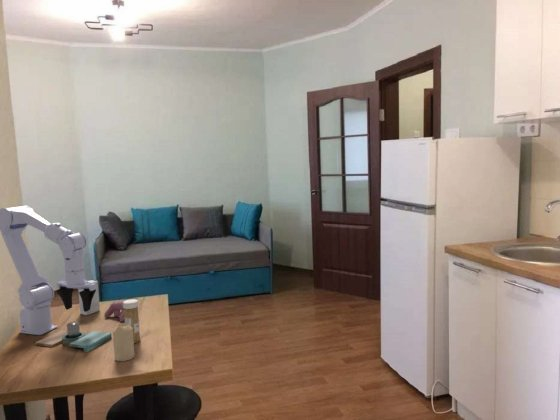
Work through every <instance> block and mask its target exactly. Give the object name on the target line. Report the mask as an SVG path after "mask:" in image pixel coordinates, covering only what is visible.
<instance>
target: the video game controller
mask: <svg viewBox="0 0 560 420" xmlns="http://www.w3.org/2000/svg"><path fill="white" fill-rule="evenodd" d="M123 302H124V301H120V300H119V301H113V302H112V303H111V304H110V306H109V307H108V308H107V310H105V312H104V315H103V316H104V318H105V319H108V318H110V317H111V316H112V315H113V317H115V318H119V321H120V322H125V319H124V317H125V316H124V308H123Z"/></svg>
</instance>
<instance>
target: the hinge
mask: <svg viewBox="0 0 560 420" xmlns="http://www.w3.org/2000/svg"><path fill="white" fill-rule="evenodd" d="M112 338H113V336H112V332H107V331H105V332H104V331H97V330H93V331H90V332H89V333H87V334H86V333H85V332H83V331H80V336H79V337H77V338H71V339H68V332H67V330H64V329H60V330H58V331H57V332H54V333H52V334H50V335H48V336H45V337H44V338H42V339H40V340H38V341H36V342H35V344H34V345H35V346H41V347H42V346H43V347H50V348H54V347H56V346H58V345H60V344H63V346H67V347H73V348H78V349H79V348H80V349H83V352H87V353H88V352H90V351H92V350H94V349H95V348H97V347H99V346H101V345H103V344H104V343H106V342H107V341H109V340H112Z"/></svg>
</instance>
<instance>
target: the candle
mask: <svg viewBox="0 0 560 420" xmlns="http://www.w3.org/2000/svg"><path fill="white" fill-rule="evenodd" d="M112 335H113V336H112V338H113V351H114V352H113V353H114V360H115V361H117V362H126V361H129V360H132V359H134V357H135V345H134V344H135V343H134V342H133V328H132V327H131V326H129V325H128V324H125V322H124V323H122V324H121V323H120V324H119V323H118V324H117V325H116V327H115V328H114V329H113V330H112Z"/></svg>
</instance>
